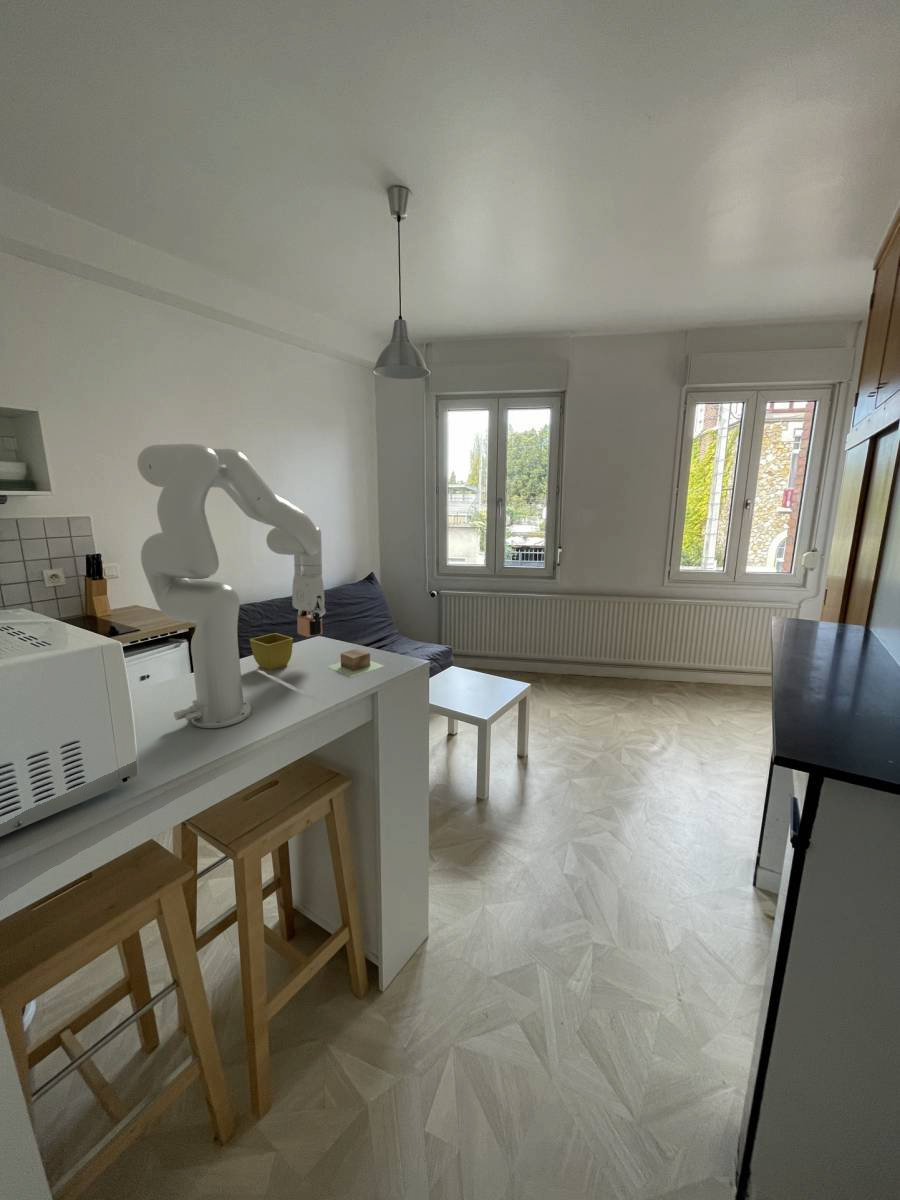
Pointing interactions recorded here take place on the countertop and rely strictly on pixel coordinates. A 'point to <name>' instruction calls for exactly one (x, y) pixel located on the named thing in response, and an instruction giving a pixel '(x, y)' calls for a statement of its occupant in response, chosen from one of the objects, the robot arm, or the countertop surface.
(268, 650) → the flower pot
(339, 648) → the countertop surface
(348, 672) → the plate
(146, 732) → the countertop surface
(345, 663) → the base block
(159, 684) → the countertop surface
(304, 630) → the cube
